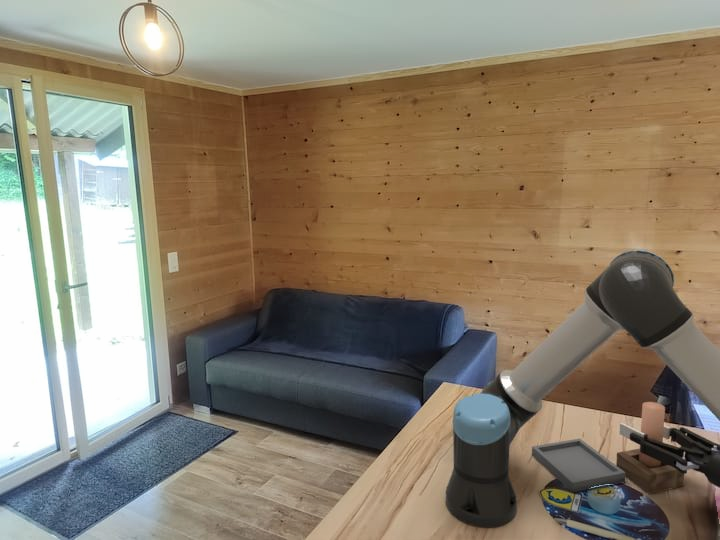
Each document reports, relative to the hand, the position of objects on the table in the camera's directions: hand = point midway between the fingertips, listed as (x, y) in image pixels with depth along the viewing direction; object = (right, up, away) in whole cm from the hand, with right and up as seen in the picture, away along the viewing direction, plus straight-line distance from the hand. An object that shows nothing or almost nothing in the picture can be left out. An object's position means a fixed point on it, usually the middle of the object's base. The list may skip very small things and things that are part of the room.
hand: (632, 425), depth 116 cm
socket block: (+2, -12, -3) cm, 12 cm away
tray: (-13, -11, +2) cm, 17 cm away
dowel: (+2, -12, -3) cm, 12 cm away
